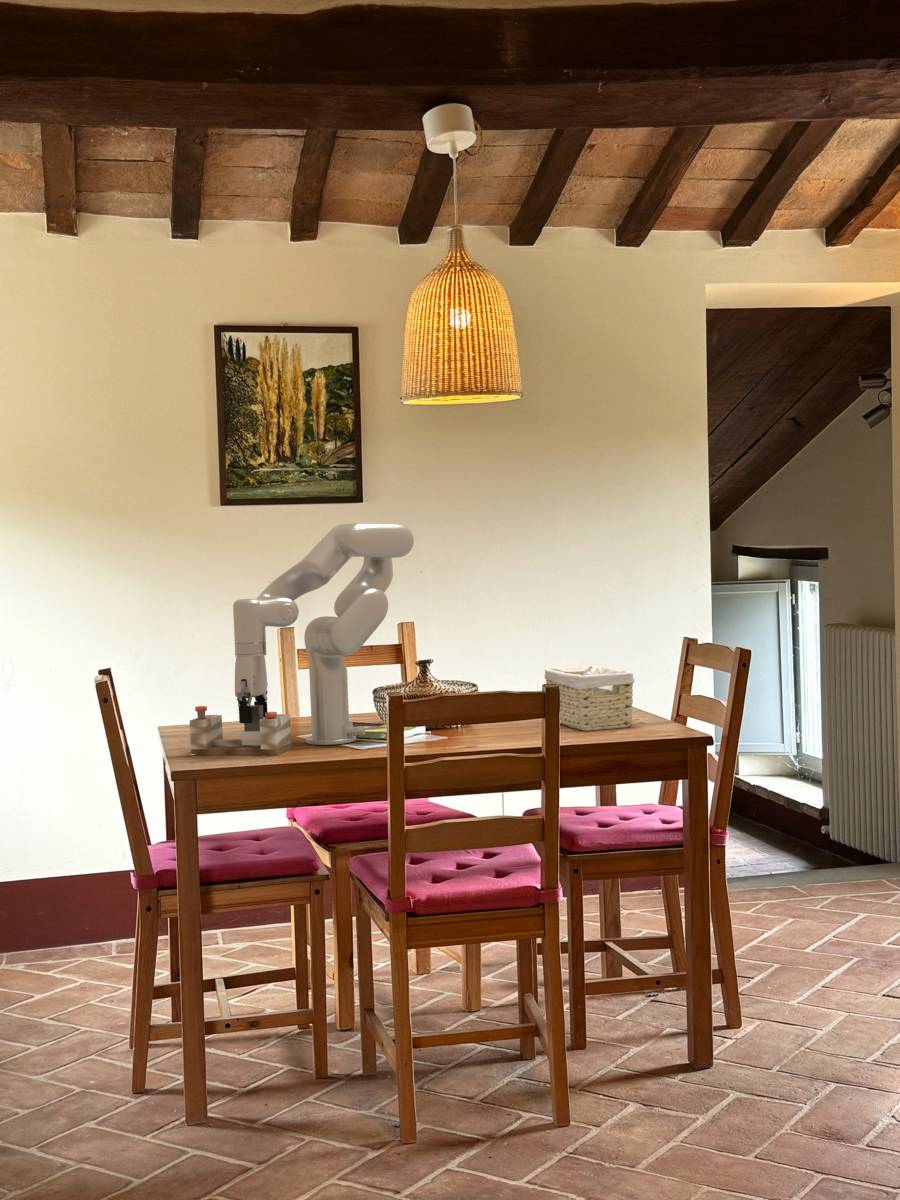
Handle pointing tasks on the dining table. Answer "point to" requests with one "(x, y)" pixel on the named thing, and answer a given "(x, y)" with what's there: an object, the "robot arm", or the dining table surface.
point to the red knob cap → (271, 715)
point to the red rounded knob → (201, 712)
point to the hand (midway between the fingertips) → (253, 720)
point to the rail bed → (211, 741)
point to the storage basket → (593, 696)
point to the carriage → (253, 727)
